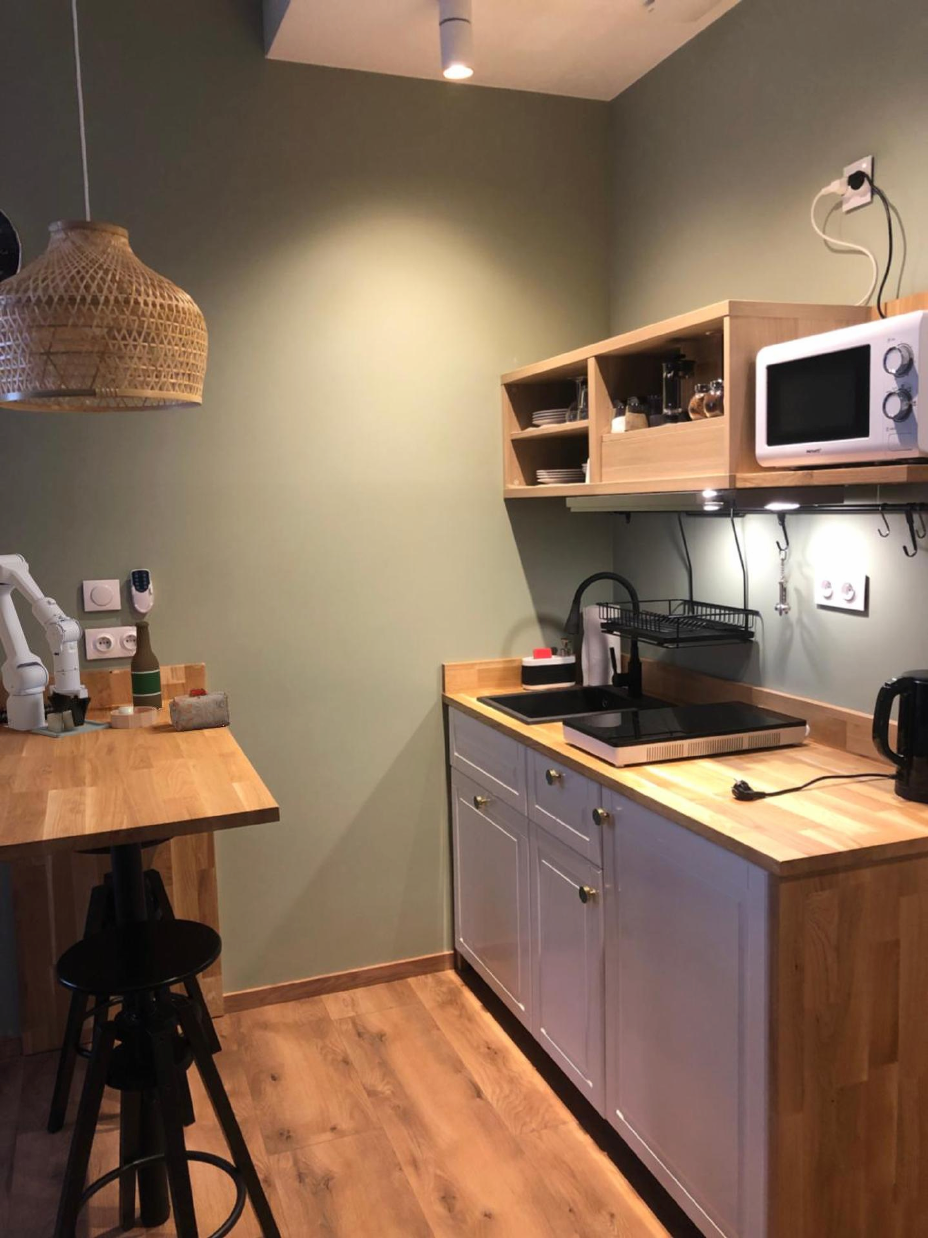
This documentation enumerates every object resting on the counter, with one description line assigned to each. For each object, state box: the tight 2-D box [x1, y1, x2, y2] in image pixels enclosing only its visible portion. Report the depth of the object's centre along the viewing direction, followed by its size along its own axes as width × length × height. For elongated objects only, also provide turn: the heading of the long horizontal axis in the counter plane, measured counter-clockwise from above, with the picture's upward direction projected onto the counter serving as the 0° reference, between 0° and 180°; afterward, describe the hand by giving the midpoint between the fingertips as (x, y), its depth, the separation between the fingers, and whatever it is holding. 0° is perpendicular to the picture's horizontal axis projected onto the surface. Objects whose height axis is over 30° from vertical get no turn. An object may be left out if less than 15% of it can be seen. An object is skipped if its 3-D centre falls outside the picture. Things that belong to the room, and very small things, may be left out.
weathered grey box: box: [168, 686, 231, 732], centre depth 254 cm, size 14×8×10 cm, turn 114°
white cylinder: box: [46, 712, 63, 734], centre depth 252 cm, size 3×3×4 cm
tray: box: [30, 718, 112, 739], centre depth 255 cm, size 13×14×1 cm
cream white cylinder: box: [118, 705, 133, 714], centre depth 258 cm, size 3×3×4 cm
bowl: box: [109, 707, 158, 730], centre depth 259 cm, size 11×11×4 cm
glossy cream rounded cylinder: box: [63, 710, 79, 731], centre depth 255 cm, size 3×3×4 cm
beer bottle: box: [130, 620, 163, 711], centre depth 279 cm, size 8×8×24 cm
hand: (71, 724), depth 255 cm, fingers open, 7 cm apart
